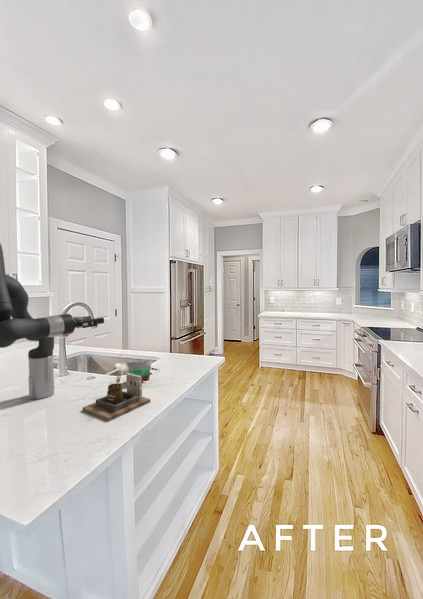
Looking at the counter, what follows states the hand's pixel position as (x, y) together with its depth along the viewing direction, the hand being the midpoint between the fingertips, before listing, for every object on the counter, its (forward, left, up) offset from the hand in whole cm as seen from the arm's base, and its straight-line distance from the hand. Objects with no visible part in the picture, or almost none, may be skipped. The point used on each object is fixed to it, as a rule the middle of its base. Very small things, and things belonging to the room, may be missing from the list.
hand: (96, 319), depth 120 cm
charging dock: (+6, -9, -34) cm, 36 cm away
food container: (+20, +16, -34) cm, 43 cm away
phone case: (+28, +33, -35) cm, 56 cm away
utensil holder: (+5, -8, -33) cm, 34 cm away
